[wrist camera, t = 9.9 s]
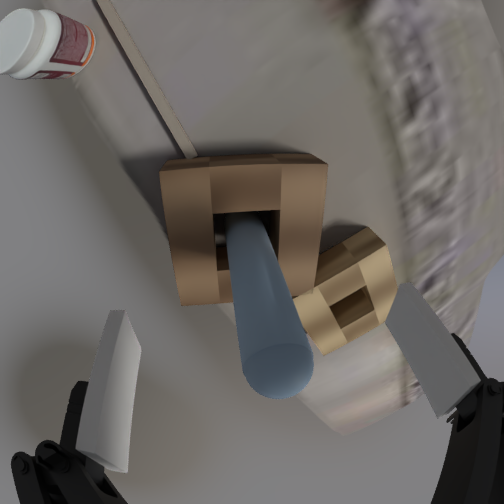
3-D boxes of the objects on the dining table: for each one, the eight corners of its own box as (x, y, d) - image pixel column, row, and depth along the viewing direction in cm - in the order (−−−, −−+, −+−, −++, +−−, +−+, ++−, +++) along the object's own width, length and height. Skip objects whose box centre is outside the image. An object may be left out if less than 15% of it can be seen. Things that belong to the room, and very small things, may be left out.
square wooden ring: (167, 160, 19) (158, 171, 16) (311, 154, 20) (328, 164, 17) (184, 280, 25) (181, 306, 22) (301, 270, 26) (312, 293, 23)
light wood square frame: (277, 278, 26) (285, 303, 23) (368, 226, 25) (386, 244, 22) (314, 333, 31) (323, 355, 28) (387, 291, 30) (402, 310, 27)
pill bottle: (80, 14, 11) (24, -12, 4) (107, 48, 14) (52, 27, 7) (39, 56, 12) (-27, 53, 5) (63, 91, 15) (-4, 97, 7)
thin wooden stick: (97, 0, 11) (95, -2, 11) (106, -6, 11) (104, -8, 10) (188, 159, 19) (187, 160, 19) (197, 154, 19) (197, 155, 19)
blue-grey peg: (224, 205, 22) (248, 377, 9) (261, 204, 22) (331, 366, 9) (224, 238, 23) (246, 414, 10) (259, 237, 24) (314, 405, 11)
